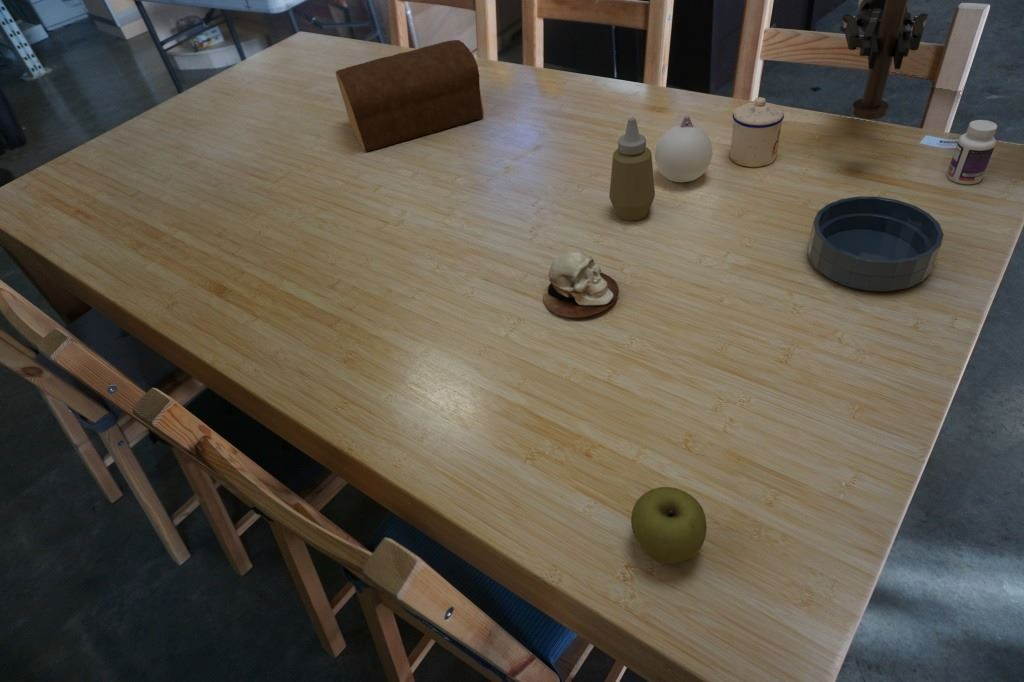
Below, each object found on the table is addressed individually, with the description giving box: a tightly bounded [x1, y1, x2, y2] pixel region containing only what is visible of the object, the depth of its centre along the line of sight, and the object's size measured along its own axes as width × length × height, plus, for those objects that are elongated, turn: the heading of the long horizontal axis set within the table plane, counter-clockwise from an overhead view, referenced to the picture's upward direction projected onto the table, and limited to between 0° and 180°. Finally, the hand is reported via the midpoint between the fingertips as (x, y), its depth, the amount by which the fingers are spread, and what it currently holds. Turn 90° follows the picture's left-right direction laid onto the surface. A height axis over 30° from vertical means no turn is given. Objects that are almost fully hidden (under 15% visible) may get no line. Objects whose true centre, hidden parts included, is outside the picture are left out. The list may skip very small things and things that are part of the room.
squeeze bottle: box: [608, 117, 656, 222], centre depth 116 cm, size 8×8×18 cm
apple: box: [630, 486, 707, 564], centre depth 72 cm, size 8×8×7 cm
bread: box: [335, 39, 485, 152], centre depth 156 cm, size 18×30×16 cm, turn 111°
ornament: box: [654, 115, 713, 183], centre depth 125 cm, size 10×10×12 cm
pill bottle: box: [946, 119, 998, 185], centre depth 114 cm, size 5×5×10 cm
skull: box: [542, 250, 620, 318], centre depth 106 cm, size 12×10×10 cm
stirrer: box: [850, 0, 909, 120], centre depth 109 cm, size 6×6×20 cm
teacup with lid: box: [729, 96, 785, 168], centre depth 128 cm, size 12×9×12 cm
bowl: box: [807, 195, 945, 292], centre depth 103 cm, size 17×17×6 cm
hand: (886, 60), depth 105 cm, fingers closed on stirrer, 3 cm apart
